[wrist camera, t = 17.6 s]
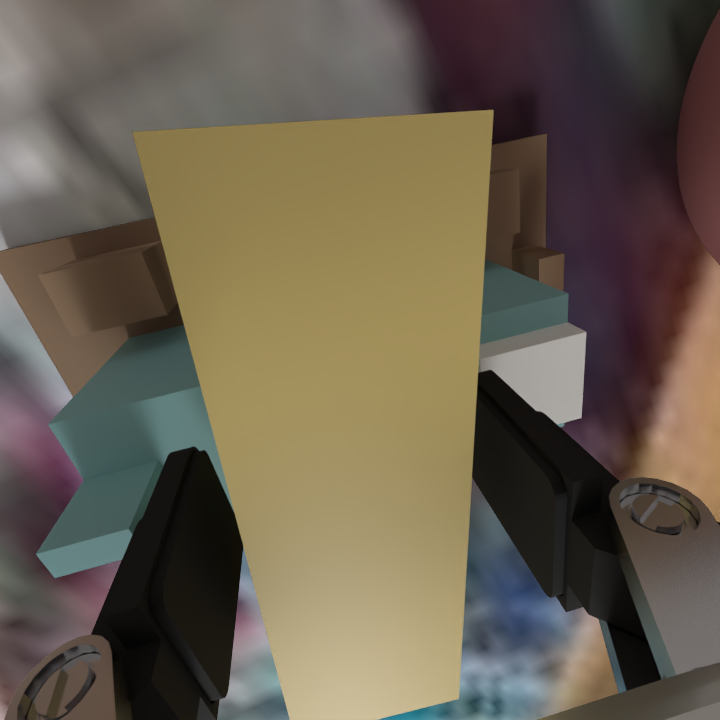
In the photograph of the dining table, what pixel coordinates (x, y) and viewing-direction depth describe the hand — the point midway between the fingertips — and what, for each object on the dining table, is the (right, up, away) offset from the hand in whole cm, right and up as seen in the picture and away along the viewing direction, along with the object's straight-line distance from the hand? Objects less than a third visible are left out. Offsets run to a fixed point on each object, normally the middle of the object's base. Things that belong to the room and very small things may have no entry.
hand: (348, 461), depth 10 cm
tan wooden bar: (0, +1, +2) cm, 2 cm away
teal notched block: (-1, +3, +7) cm, 8 cm away
